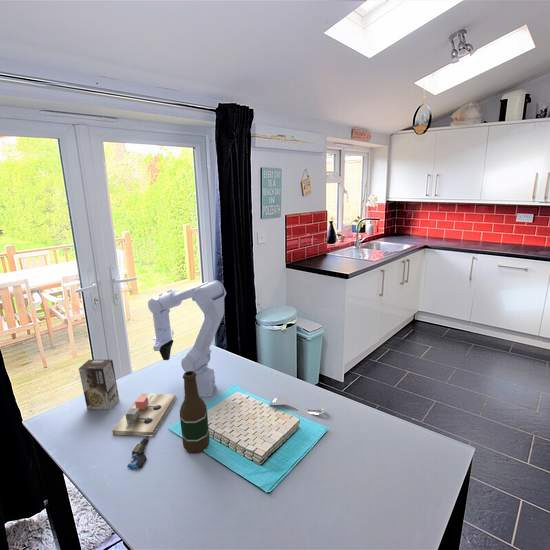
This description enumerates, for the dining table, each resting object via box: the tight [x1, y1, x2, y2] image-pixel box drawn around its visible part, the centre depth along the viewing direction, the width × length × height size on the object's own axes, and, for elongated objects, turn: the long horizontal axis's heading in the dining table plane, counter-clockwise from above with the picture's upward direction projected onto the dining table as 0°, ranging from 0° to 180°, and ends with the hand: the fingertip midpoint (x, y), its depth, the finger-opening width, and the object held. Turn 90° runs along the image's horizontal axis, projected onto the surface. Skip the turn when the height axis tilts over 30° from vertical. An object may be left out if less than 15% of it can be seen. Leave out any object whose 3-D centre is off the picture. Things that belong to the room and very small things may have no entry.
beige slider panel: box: [112, 392, 177, 436], centre depth 121 cm, size 13×20×5 cm, turn 174°
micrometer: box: [127, 436, 149, 470], centre depth 105 cm, size 12×2×5 cm
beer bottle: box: [179, 371, 210, 455], centre depth 104 cm, size 8×8×24 cm
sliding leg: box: [134, 395, 158, 410], centre depth 123 cm, size 7×3×3 cm, turn 84°
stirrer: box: [269, 396, 327, 416], centre depth 122 cm, size 20×4×5 cm
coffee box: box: [78, 359, 120, 410], centre depth 127 cm, size 9×6×16 cm
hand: (166, 359), depth 140 cm, fingers closed
